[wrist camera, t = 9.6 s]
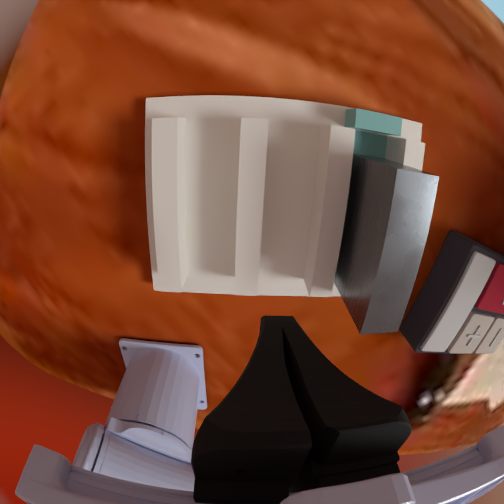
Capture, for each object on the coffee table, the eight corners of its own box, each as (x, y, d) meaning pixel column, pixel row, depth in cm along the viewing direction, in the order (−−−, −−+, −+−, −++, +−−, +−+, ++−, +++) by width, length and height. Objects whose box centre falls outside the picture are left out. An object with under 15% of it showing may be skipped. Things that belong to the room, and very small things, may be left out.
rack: (384, 289, 24) (401, 312, 21) (157, 283, 23) (145, 308, 20) (415, 123, 18) (441, 125, 15) (150, 99, 17) (132, 94, 14)
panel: (360, 275, 22) (397, 331, 15) (330, 275, 22) (360, 334, 15) (380, 157, 18) (438, 176, 12) (347, 152, 18) (397, 168, 12)
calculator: (493, 357, 25) (416, 358, 22) (475, 337, 29) (397, 329, 26) (539, 278, 21) (479, 247, 18) (516, 262, 25) (448, 227, 22)
